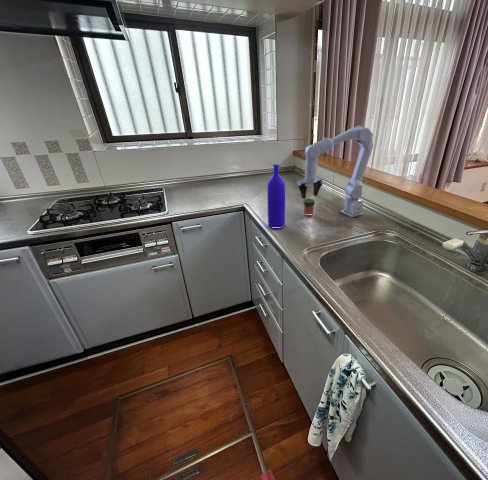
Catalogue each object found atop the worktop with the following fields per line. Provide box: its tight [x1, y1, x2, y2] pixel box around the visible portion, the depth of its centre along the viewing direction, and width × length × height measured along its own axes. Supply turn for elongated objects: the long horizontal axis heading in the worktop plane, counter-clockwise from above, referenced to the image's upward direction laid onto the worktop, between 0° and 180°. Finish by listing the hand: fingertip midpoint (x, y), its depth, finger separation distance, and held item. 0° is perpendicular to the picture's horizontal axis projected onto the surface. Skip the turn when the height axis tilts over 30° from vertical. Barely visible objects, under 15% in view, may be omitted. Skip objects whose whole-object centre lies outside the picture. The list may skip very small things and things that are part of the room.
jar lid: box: [303, 198, 316, 206], centre depth 140 cm, size 6×6×2 cm
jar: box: [303, 204, 315, 218], centre depth 142 cm, size 5×5×8 cm
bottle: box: [266, 163, 286, 231], centre depth 124 cm, size 8×8×30 cm
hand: (309, 196), depth 139 cm, fingers open, 7 cm apart
